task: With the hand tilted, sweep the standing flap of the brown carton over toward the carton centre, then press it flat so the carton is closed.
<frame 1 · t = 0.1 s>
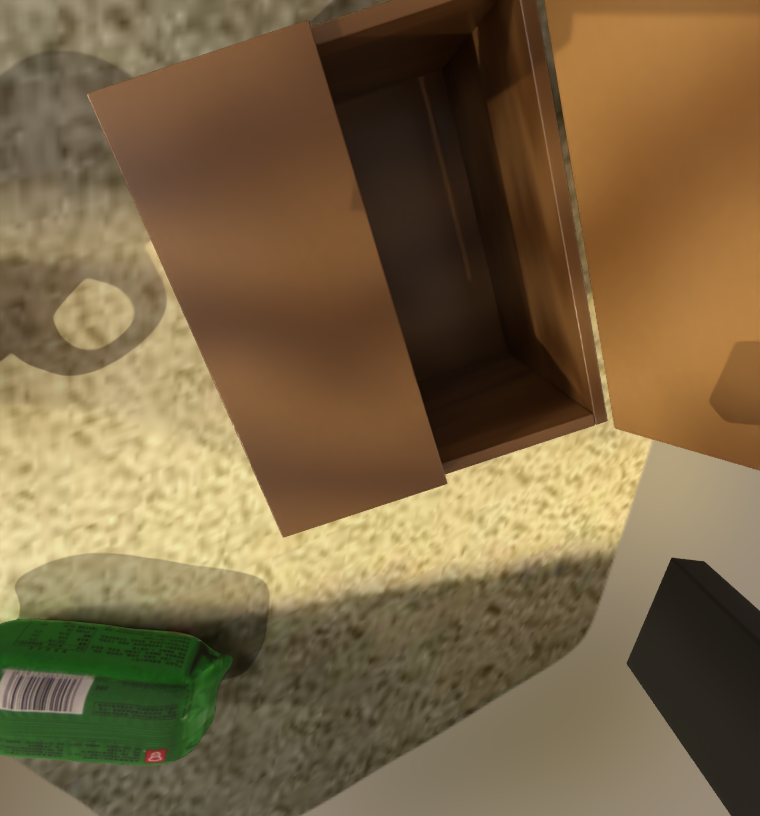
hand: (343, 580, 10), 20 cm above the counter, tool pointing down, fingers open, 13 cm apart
flap: (674, 208, 14), point 14 cm above the counter, hinge at 110.0°
snack package: (106, 653, 34), on the counter
carton: (363, 260, 28), on the counter
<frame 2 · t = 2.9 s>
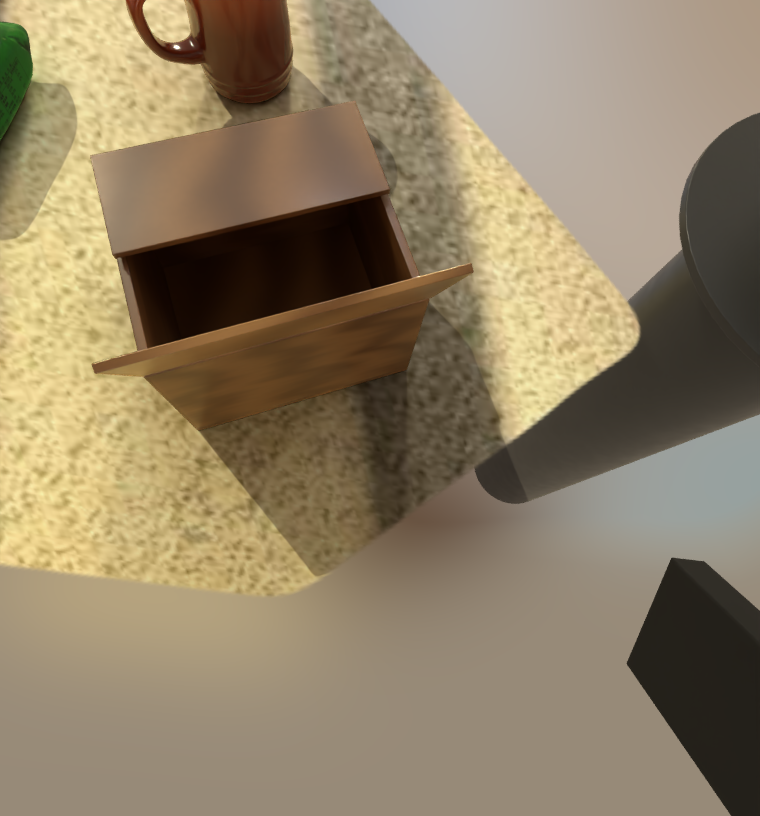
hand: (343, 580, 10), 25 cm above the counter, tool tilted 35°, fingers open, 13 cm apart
flap: (292, 324, 24), point 14 cm above the counter, hinge at 110.0°
carton: (280, 318, 39), on the counter
mug: (233, 84, 45), on the counter
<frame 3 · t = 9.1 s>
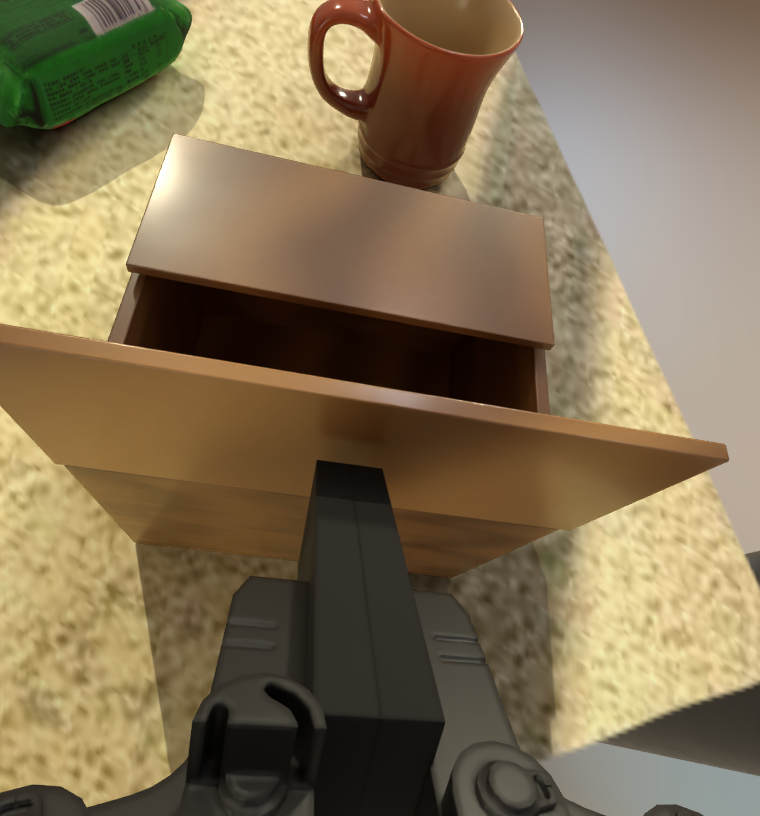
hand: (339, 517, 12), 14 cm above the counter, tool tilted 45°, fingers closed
flap: (350, 455, 13), point 14 cm above the counter, hinge at 89.8°, touching gripper
snack package: (90, 81, 36), on the counter
carton: (317, 435, 28), on the counter
mug: (382, 160, 39), on the counter
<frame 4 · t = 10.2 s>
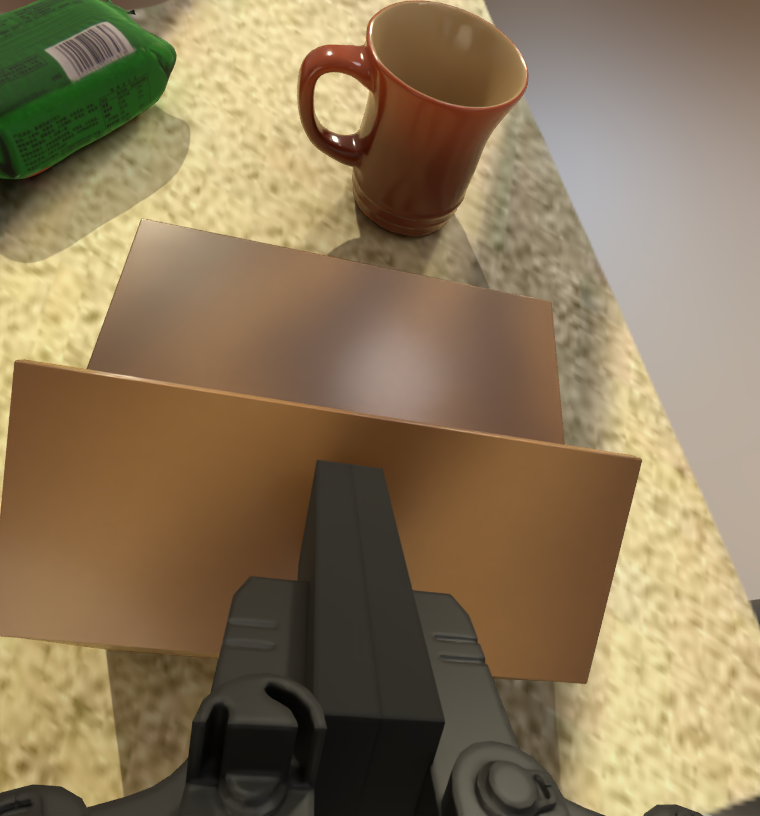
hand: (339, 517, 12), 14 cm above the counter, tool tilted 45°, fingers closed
flap: (335, 539, 13), point 13 cm above the counter, hinge at 34.3°, touching gripper
snack package: (68, 123, 34), on the counter
carton: (306, 516, 26), on the counter
mug: (377, 203, 37), on the counter
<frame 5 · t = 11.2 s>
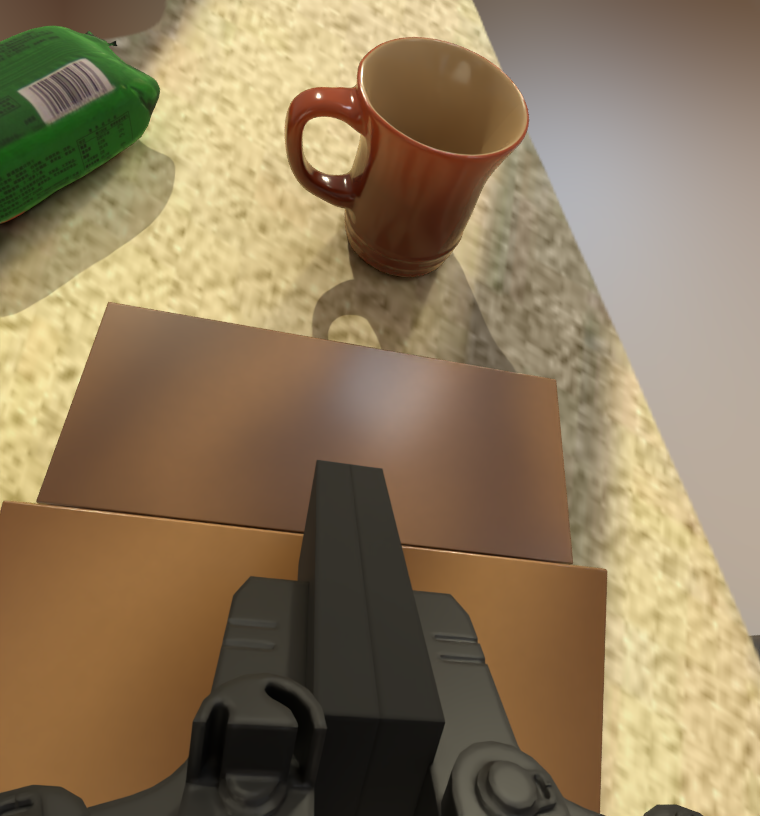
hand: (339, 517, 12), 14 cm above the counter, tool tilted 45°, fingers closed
flap: (313, 674, 13), point 12 cm above the counter, hinge at 15.0°, touching gripper
snack package: (46, 161, 32), on the counter
carton: (295, 590, 25), on the counter
mug: (371, 241, 35), on the counter
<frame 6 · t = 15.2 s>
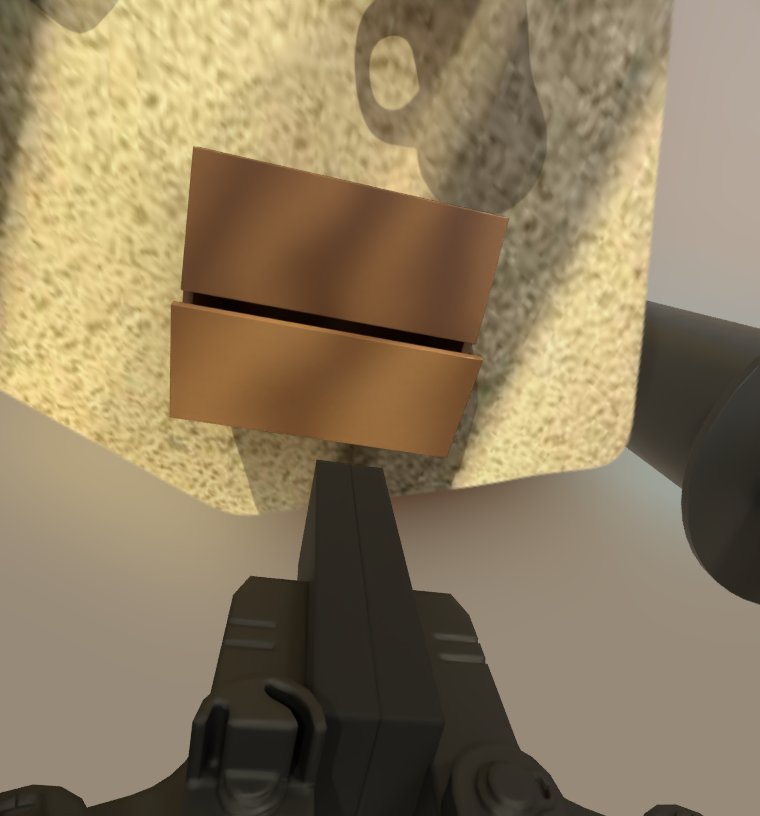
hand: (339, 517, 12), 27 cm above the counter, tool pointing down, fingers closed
flap: (323, 387, 27), point 12 cm above the counter, hinge at 15.0°
carton: (330, 291, 37), on the counter
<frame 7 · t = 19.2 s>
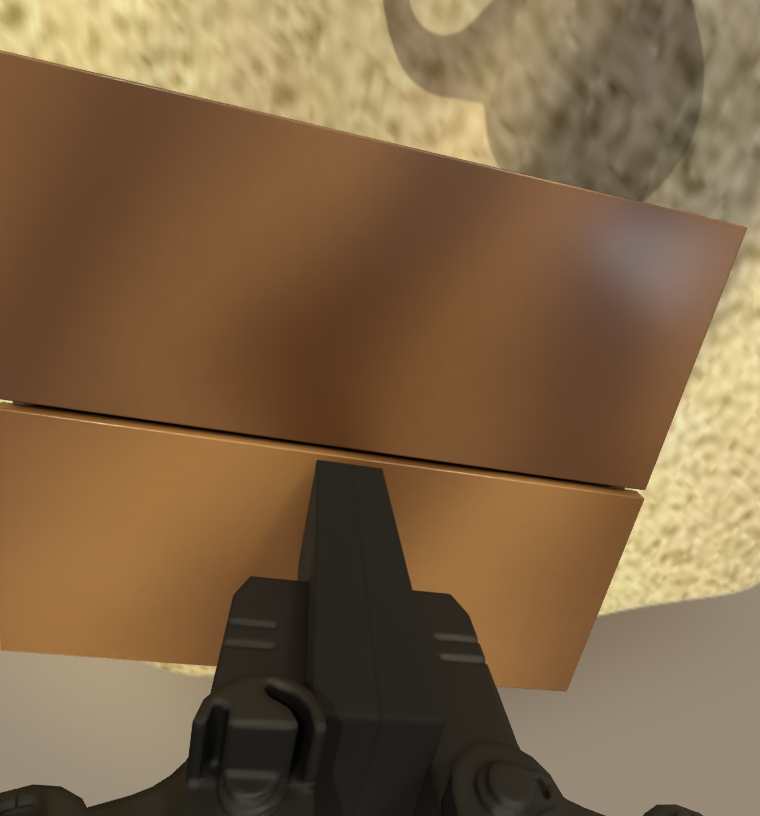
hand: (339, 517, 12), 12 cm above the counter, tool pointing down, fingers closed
flap: (327, 568, 13), point 11 cm above the counter, hinge at 0.8°, touching gripper
carton: (336, 344, 23), on the counter
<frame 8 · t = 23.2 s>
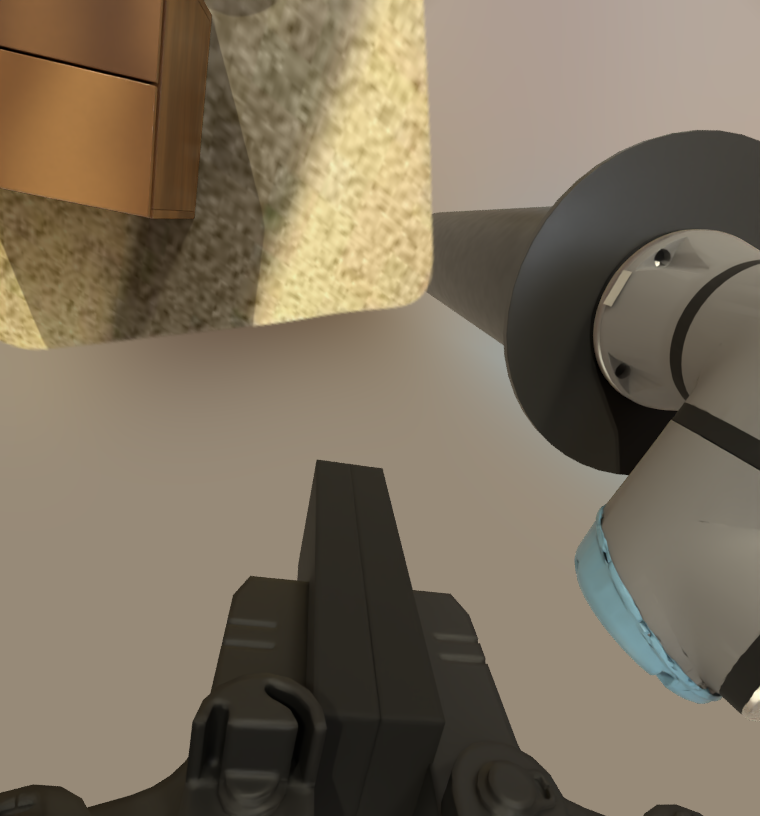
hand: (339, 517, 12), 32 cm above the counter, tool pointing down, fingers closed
carton: (89, 96, 37), on the counter
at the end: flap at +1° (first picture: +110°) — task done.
